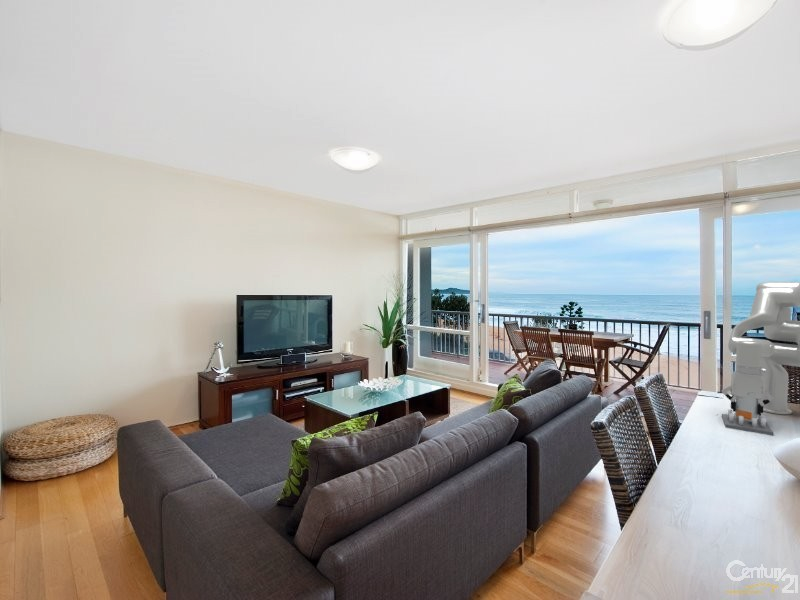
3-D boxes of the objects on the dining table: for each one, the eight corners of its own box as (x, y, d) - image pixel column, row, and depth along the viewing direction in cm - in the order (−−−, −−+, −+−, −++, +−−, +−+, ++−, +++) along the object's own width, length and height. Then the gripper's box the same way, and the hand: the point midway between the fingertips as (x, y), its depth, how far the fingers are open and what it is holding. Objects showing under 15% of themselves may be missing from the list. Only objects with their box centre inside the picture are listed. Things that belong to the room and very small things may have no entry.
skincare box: (734, 417, 157) (735, 389, 157) (739, 415, 159) (740, 388, 159) (752, 422, 152) (753, 393, 151) (758, 420, 154) (759, 391, 153)
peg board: (721, 416, 166) (721, 405, 166) (765, 423, 158) (765, 412, 158) (725, 427, 153) (726, 415, 153) (773, 435, 145) (773, 423, 145)
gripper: (775, 371, 153) (773, 414, 153) (719, 366, 163) (718, 406, 164) (779, 375, 146) (777, 419, 147) (721, 369, 157) (719, 410, 157)
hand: (746, 412), depth 155 cm, fingers closed on skincare box, 7 cm apart
